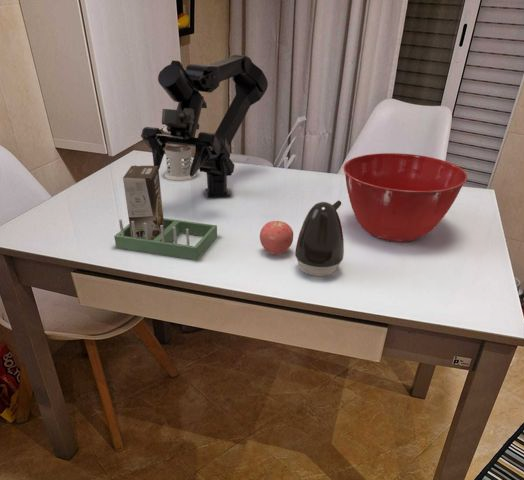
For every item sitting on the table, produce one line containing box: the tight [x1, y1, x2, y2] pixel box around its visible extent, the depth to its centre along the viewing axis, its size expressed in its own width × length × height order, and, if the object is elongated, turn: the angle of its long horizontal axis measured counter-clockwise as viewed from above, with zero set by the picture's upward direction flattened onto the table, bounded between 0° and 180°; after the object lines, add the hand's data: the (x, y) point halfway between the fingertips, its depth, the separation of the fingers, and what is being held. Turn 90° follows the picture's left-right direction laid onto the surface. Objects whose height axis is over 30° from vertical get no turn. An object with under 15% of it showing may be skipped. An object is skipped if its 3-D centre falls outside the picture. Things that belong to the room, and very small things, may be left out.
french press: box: [162, 101, 197, 181], centre depth 150 cm, size 10×12×25 cm
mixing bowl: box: [343, 152, 468, 243], centre depth 121 cm, size 28×28×16 cm
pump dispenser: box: [294, 200, 345, 277], centre depth 103 cm, size 10×10×15 cm
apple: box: [259, 220, 294, 256], centre depth 112 cm, size 7×7×8 cm
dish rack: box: [113, 217, 218, 261], centre depth 116 cm, size 13×20×7 cm, turn 74°
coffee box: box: [122, 165, 165, 240], centre depth 114 cm, size 9×6×16 cm
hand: (173, 173), depth 119 cm, fingers open, 9 cm apart
